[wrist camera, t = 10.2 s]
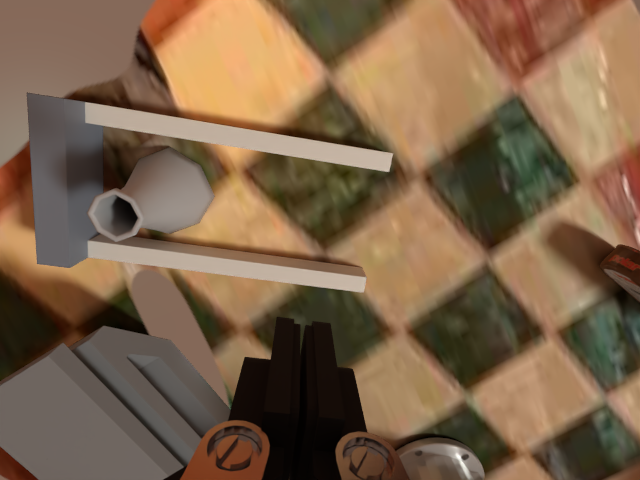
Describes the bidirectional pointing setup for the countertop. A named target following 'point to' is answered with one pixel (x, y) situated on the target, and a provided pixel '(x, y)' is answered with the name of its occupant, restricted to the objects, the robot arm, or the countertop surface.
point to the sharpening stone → (107, 409)
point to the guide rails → (223, 258)
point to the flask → (154, 198)
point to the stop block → (63, 177)
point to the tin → (624, 269)
